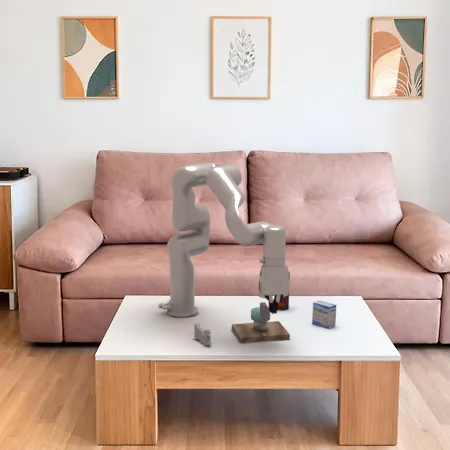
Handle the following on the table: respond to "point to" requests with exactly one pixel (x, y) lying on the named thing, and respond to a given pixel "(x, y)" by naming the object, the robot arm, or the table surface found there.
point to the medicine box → (324, 314)
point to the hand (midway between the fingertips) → (273, 312)
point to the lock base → (260, 332)
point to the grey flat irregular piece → (202, 335)
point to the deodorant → (284, 301)
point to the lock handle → (260, 313)
